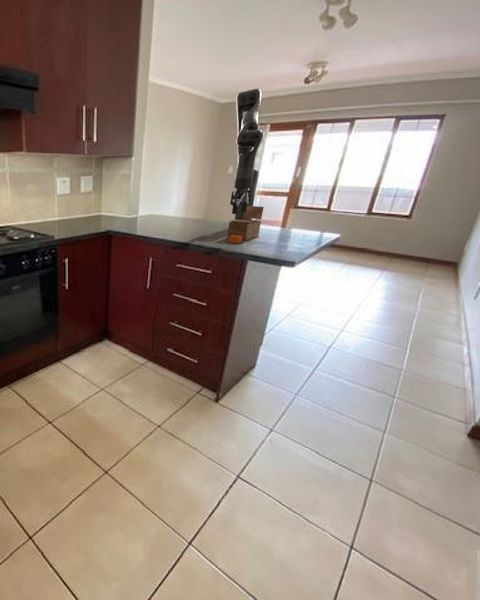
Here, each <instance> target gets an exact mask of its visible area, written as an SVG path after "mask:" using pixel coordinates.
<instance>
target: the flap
mask: <svg viewBox="0 0 480 600" xmlns="http://www.w3.org/2000/svg"><path fill="white" fill-rule="evenodd" d="M263 213H264V206H260V205H259V206H258V205H257V206H255V205H253V206H247V211H246V212H244V213H243V218H251V219H252V220H262V218H263Z"/></svg>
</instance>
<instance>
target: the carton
mask: <svg viewBox="0 0 480 600" xmlns="http://www.w3.org/2000/svg"><path fill="white" fill-rule="evenodd" d="M261 222H262V221H261V220H260V219H252V220H248V219H230V220H229V222H228V229H227V235H226V239H228V238H229V236H231V235H237V236H242V241H249V240H252V239H256V238H259V236H260V228H261Z"/></svg>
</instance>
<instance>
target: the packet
mask: <svg viewBox="0 0 480 600" xmlns="http://www.w3.org/2000/svg"><path fill="white" fill-rule="evenodd" d="M242 242H243V240H242V236H237V235H231V236H229V238H227V243H232V244H240V243H242Z"/></svg>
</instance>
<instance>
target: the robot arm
mask: <svg viewBox="0 0 480 600" xmlns="http://www.w3.org/2000/svg"><path fill="white" fill-rule="evenodd" d="M262 96H263V95H262V90H261V88H253V89H248V90H244V91H241V92H238V94H237V95H236V100H235V101H236V102H235V103H236V105H235V106H236V119H237V137H236V145H237V147H236V148H237V167H236V171H235V177H234V186H233V188H234V189H236V190H233V191H231V195H230V201H229V202H230V203H229V205H231V206H232V209H231V214H232V215H234V219H248V220H253V219H251V218H243V213H244V212H246V211H247V206H254V202H255V196H256V190H257V185H258V181H259V176H260V173H259V170H258V169H256V168H255V164H256V158H257V154H258V151H259V148H260V146H261V144H262V141H263V139H264V132H263V131H262V130H261V129H259V117H260V112H261V107H262V100H263V99H262V98H263V97H262ZM234 219H233V220H234Z"/></svg>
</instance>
